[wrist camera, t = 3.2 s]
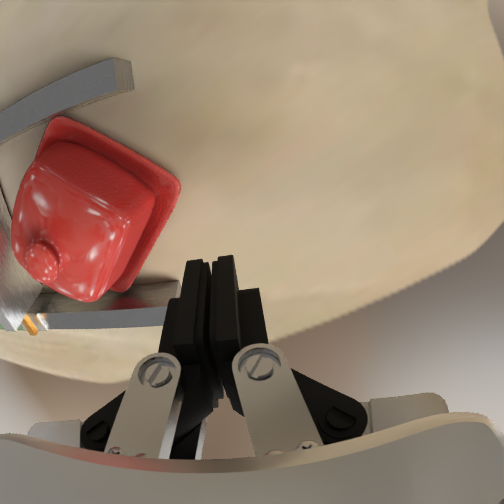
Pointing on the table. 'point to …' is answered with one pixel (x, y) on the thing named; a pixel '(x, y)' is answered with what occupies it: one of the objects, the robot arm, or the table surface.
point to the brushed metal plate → (14, 281)
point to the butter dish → (88, 211)
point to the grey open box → (110, 303)
